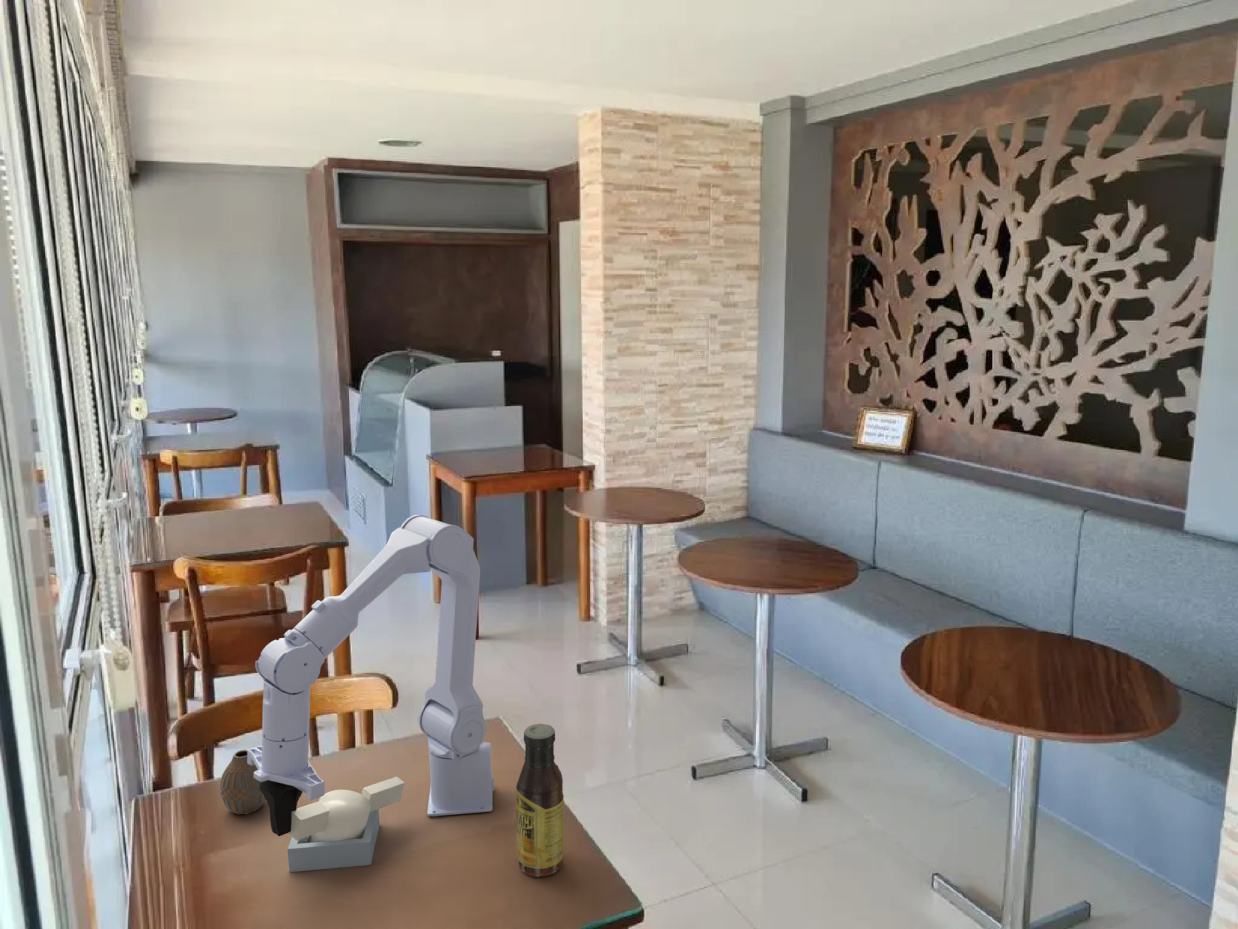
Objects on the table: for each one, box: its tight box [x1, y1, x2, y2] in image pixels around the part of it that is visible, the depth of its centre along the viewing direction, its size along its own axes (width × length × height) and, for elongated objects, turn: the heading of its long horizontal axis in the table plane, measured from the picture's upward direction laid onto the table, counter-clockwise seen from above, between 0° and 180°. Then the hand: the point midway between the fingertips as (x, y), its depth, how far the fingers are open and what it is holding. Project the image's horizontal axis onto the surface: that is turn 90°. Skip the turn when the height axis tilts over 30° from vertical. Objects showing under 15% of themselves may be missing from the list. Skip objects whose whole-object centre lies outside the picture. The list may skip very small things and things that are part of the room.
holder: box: [287, 809, 380, 873], centre depth 128 cm, size 11×10×3 cm
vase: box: [219, 749, 267, 815], centre depth 138 cm, size 7×7×9 cm
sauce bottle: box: [515, 723, 565, 878], centre depth 122 cm, size 6×6×20 cm
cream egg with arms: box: [288, 776, 405, 843], centre depth 128 cm, size 17×7×7 cm, turn 143°
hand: (283, 832), depth 121 cm, fingers closed, pressing on cream egg with arms
